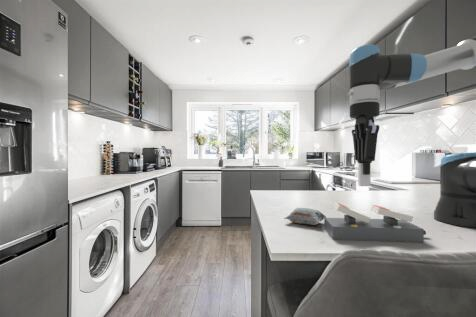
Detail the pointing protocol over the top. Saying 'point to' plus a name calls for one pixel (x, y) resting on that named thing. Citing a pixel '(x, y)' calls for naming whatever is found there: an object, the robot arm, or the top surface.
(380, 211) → the rocker white
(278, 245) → the top surface
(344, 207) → the white switch paddle
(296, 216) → the packaged food
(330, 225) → the rocker switch box
